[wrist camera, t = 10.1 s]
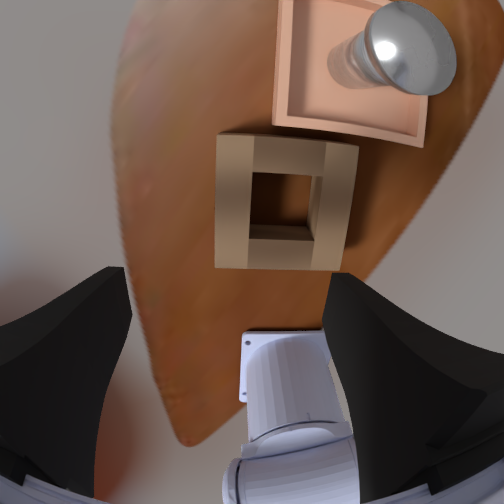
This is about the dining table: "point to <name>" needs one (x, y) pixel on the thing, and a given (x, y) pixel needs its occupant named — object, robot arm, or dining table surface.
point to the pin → (396, 52)
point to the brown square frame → (279, 236)
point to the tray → (325, 87)
